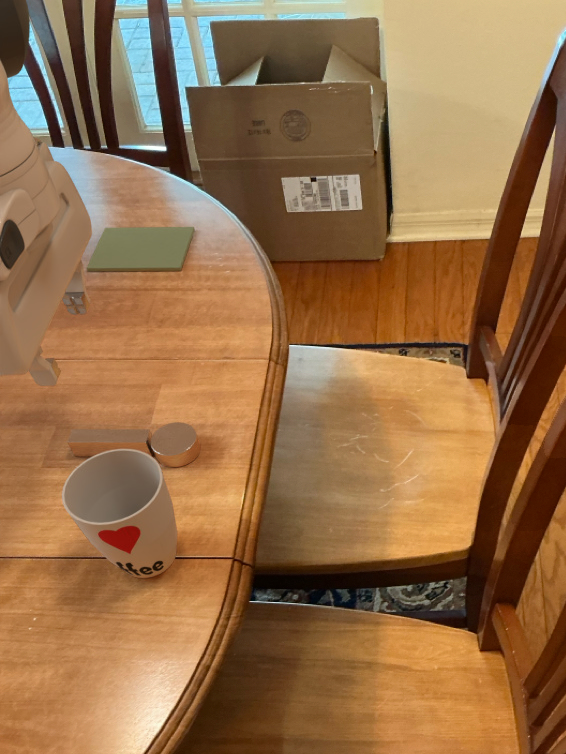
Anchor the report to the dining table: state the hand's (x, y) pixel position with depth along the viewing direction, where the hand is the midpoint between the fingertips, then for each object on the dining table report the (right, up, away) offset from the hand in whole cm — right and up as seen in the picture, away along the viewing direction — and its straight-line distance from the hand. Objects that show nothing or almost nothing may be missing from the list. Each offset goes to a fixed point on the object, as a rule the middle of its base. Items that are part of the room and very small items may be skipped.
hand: (66, 343), depth 68 cm
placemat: (-4, +20, +32) cm, 38 cm away
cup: (+6, -19, +3) cm, 20 cm away
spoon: (+3, -8, +11) cm, 14 cm away
